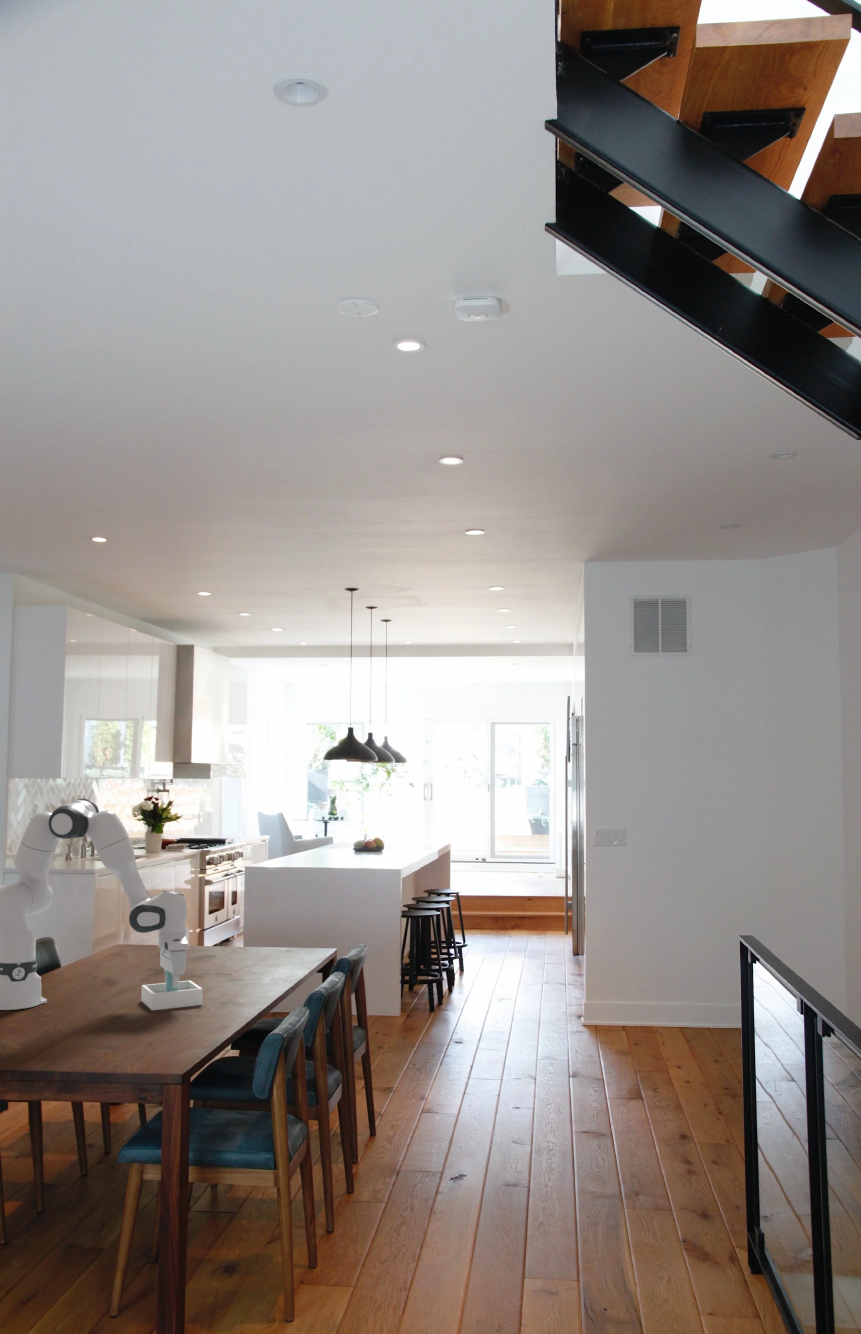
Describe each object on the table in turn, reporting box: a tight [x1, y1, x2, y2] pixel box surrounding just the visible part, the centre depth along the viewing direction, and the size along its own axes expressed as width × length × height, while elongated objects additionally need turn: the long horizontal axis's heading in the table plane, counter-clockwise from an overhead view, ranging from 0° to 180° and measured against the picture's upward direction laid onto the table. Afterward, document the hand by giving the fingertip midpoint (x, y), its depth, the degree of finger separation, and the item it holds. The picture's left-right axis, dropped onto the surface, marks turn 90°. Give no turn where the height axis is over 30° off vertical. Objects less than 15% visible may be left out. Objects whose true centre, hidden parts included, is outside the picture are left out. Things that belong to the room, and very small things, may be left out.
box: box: [140, 980, 204, 1011], centre depth 335 cm, size 16×16×5 cm
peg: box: [165, 971, 178, 992], centre depth 335 cm, size 3×3×10 cm
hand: (171, 985), depth 335 cm, fingers open, 8 cm apart
